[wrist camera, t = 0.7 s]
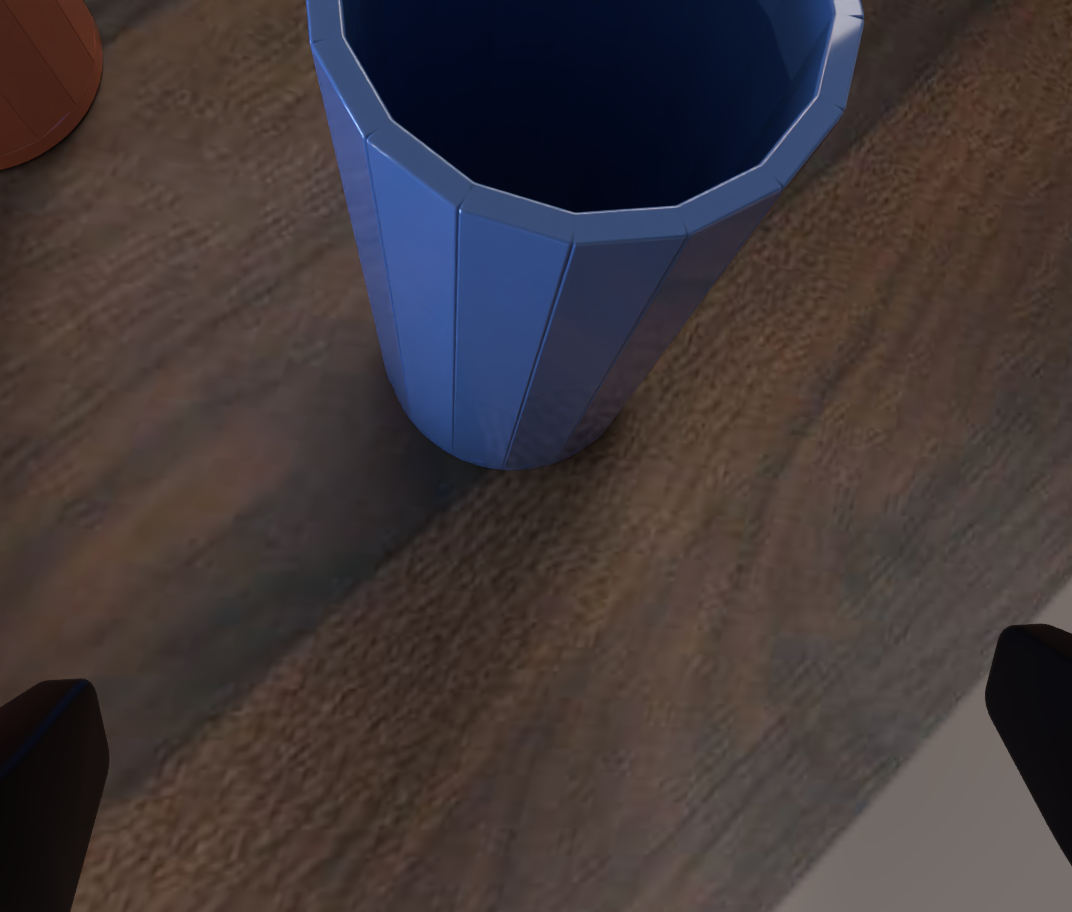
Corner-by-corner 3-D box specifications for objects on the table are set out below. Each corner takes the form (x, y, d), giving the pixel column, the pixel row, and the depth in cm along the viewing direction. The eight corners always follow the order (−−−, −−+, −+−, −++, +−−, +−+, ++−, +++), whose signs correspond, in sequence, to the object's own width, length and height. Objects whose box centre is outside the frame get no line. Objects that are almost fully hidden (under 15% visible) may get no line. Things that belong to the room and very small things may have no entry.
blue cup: (650, 457, 22) (911, 220, 10) (398, 483, 22) (327, 263, 9) (615, 225, 24) (806, -251, 11) (375, 242, 23) (284, -248, 10)
